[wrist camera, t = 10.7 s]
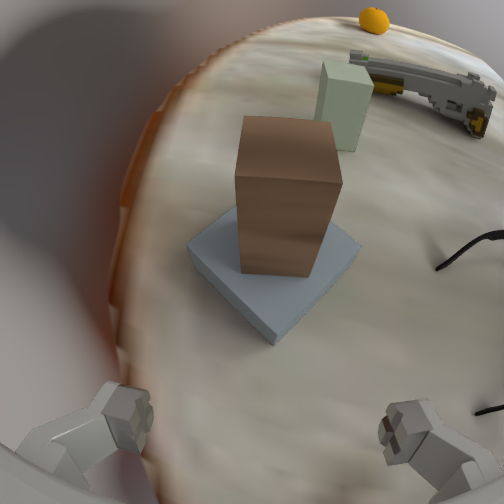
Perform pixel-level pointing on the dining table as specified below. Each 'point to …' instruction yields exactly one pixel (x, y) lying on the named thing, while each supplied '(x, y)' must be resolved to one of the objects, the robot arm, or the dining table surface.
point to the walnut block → (284, 193)
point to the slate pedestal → (268, 276)
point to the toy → (433, 89)
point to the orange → (374, 20)
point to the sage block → (344, 101)
